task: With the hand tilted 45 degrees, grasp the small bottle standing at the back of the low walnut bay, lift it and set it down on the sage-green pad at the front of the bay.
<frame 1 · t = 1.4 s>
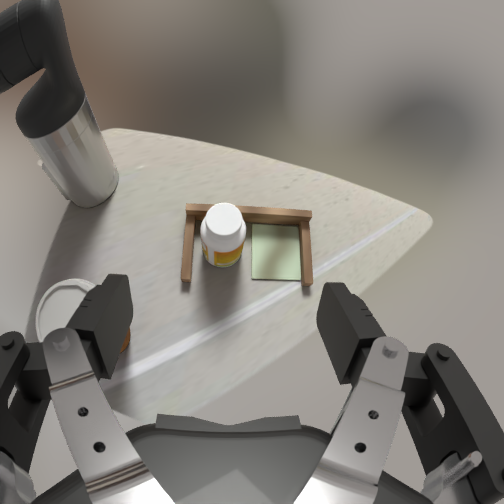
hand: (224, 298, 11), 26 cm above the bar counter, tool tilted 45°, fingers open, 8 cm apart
bay: (247, 250, 40), on the bar counter
disposable coffee cup: (109, 332, 34), on the bar counter
supplement bottle: (222, 250, 40), on the bar counter
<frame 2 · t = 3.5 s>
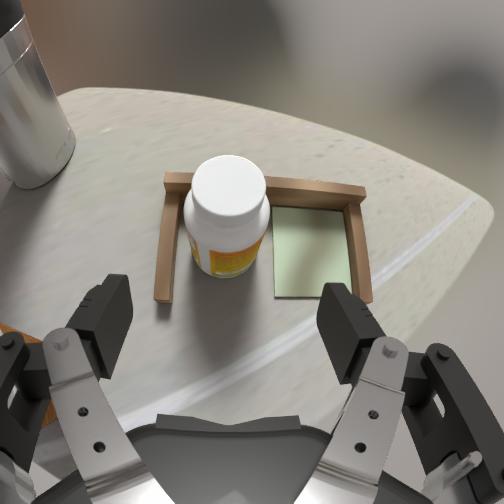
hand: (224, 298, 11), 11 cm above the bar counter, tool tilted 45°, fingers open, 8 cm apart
bay: (266, 249, 24), on the bar counter
disposable coffee cup: (52, 379, 18), on the bar counter
supplement bottle: (224, 248, 24), on the bar counter
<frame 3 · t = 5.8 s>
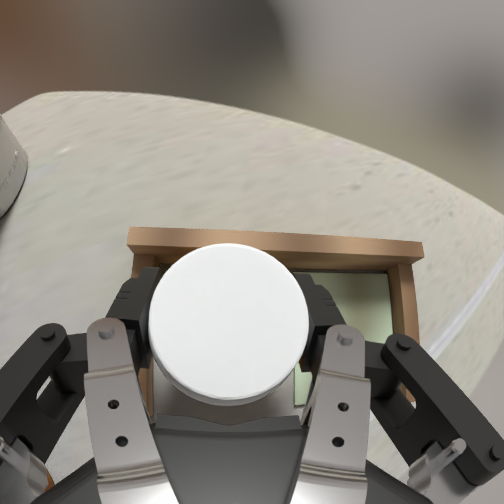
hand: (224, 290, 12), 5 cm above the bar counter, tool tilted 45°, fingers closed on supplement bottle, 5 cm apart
bay: (283, 338, 16), on the bar counter
supplement bottle: (223, 338, 16), on the bar counter, touching gripper
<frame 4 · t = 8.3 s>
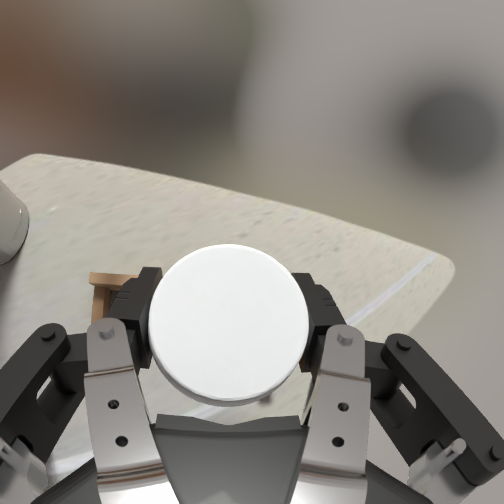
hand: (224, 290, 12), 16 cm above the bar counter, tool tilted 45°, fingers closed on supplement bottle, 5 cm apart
bay: (179, 339, 26), on the bar counter
supplement bottle: (223, 339, 16), point 11 cm above the bar counter, touching gripper
when the fingers open (6 cm above the bar counter, at t = 11.0 s): supplement bottle drops 1 cm, resting on bay.
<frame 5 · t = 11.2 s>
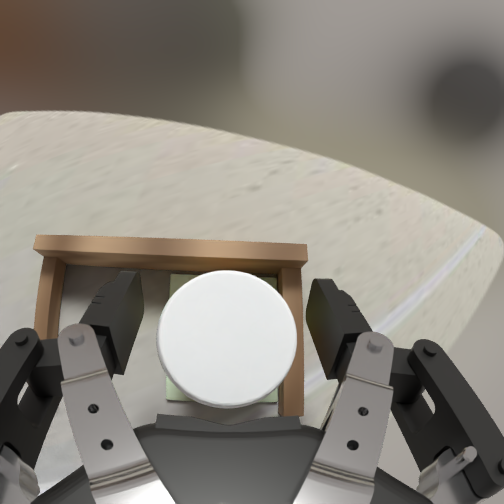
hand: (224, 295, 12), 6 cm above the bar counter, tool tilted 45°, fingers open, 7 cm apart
bay: (158, 335, 17), on the bar counter
supplement bottle: (224, 343, 17), resting on bay
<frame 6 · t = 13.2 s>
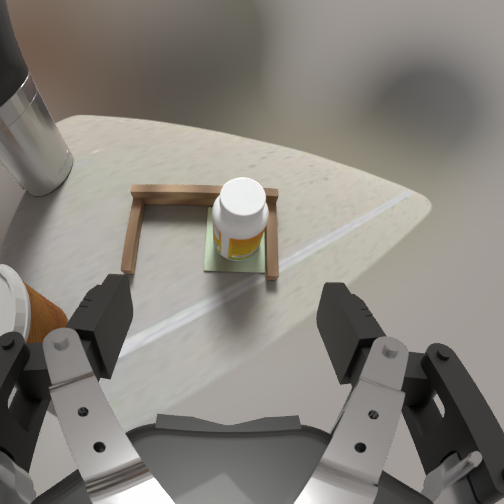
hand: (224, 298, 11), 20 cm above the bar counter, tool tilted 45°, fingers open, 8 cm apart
bay: (200, 237, 33), on the bar counter
disposable coffee cup: (50, 329, 27), on the bar counter
supplement bottle: (236, 240, 34), resting on bay
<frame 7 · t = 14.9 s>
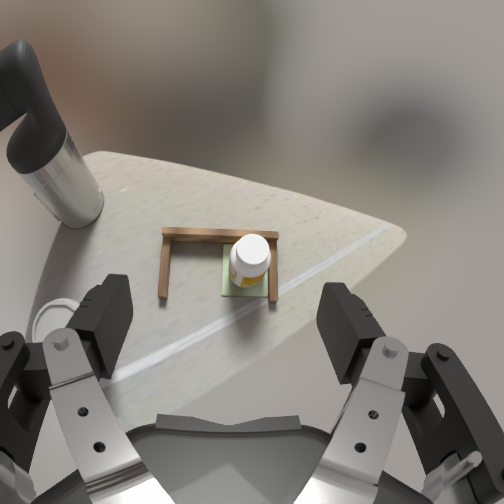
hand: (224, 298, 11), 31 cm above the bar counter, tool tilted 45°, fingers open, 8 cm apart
bay: (218, 269, 43), on the bar counter
disposable coffee cup: (97, 342, 37), on the bar counter
supplement bottle: (245, 271, 44), resting on bay
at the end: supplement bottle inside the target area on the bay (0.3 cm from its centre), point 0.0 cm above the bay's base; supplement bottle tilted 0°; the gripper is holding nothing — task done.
